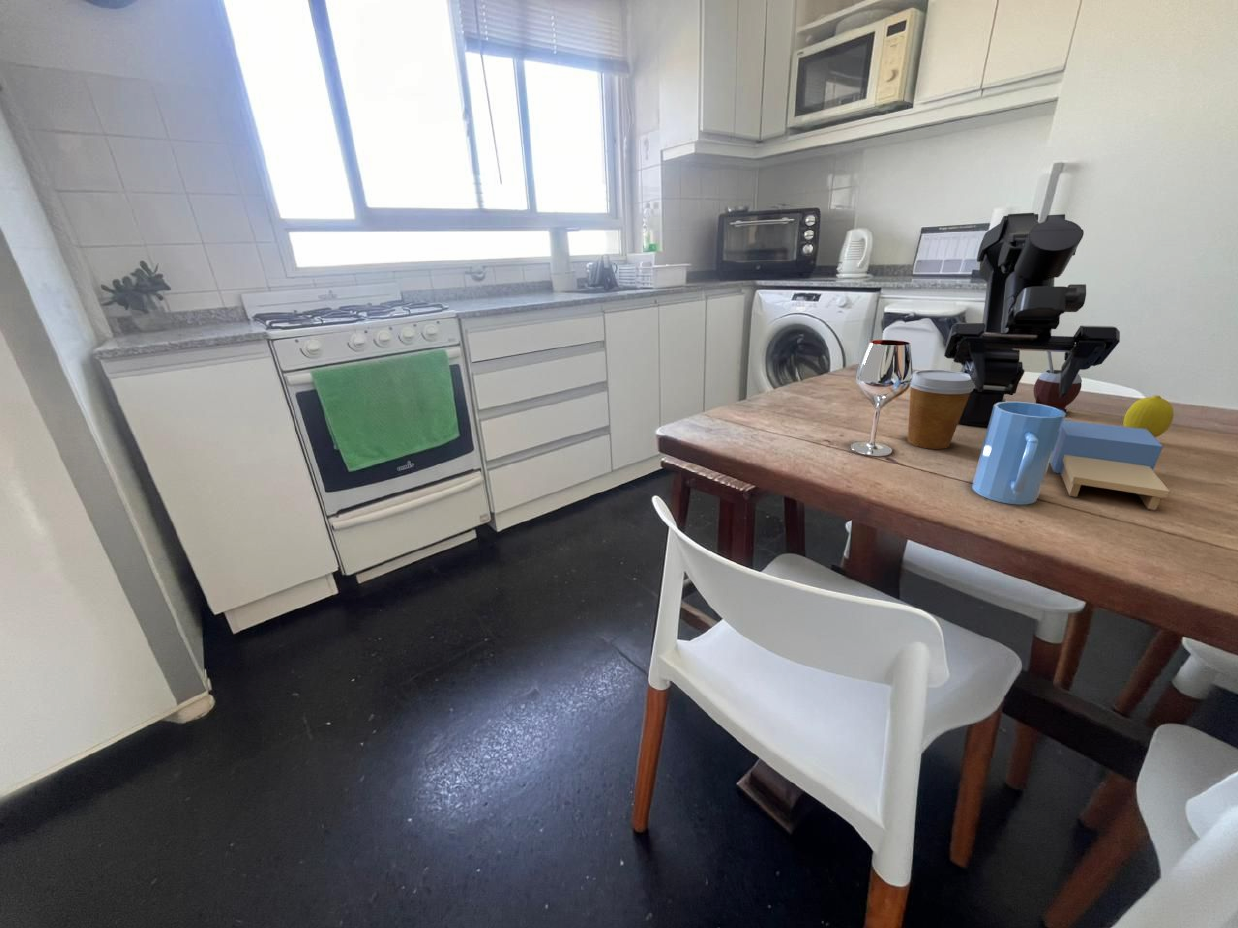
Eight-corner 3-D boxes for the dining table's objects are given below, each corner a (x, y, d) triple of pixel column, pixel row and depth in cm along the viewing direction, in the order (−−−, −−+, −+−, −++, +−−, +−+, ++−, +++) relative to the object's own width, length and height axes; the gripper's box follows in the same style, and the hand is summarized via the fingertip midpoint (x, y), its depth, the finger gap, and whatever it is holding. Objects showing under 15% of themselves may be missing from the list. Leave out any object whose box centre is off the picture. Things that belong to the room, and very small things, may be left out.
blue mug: (969, 478, 72) (990, 399, 68) (1030, 487, 69) (1057, 404, 65) (977, 507, 64) (1002, 420, 60) (1047, 519, 61) (1079, 427, 56)
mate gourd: (1081, 416, 96) (1108, 338, 91) (1040, 417, 97) (1064, 339, 91) (1051, 405, 103) (1074, 332, 98) (1013, 406, 104) (1034, 334, 98)
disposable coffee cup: (955, 437, 88) (972, 370, 84) (964, 455, 80) (983, 383, 76) (895, 431, 92) (908, 367, 87) (898, 448, 84) (912, 379, 79)
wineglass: (895, 461, 79) (917, 348, 72) (840, 453, 83) (857, 345, 76) (899, 445, 85) (920, 340, 78) (848, 438, 89) (864, 337, 82)
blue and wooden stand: (1061, 495, 67) (1076, 454, 64) (1047, 454, 80) (1058, 419, 77) (1165, 513, 61) (1185, 469, 59) (1131, 466, 74) (1147, 429, 72)
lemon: (1171, 447, 81) (1192, 400, 77) (1131, 446, 82) (1150, 399, 79) (1145, 436, 86) (1163, 391, 82) (1108, 435, 87) (1125, 390, 84)
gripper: (965, 264, 70) (953, 355, 66) (1142, 261, 62) (1143, 364, 57) (949, 315, 80) (937, 398, 75) (1100, 318, 71) (1098, 411, 67)
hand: (1020, 393), depth 68 cm, fingers open, 9 cm apart
